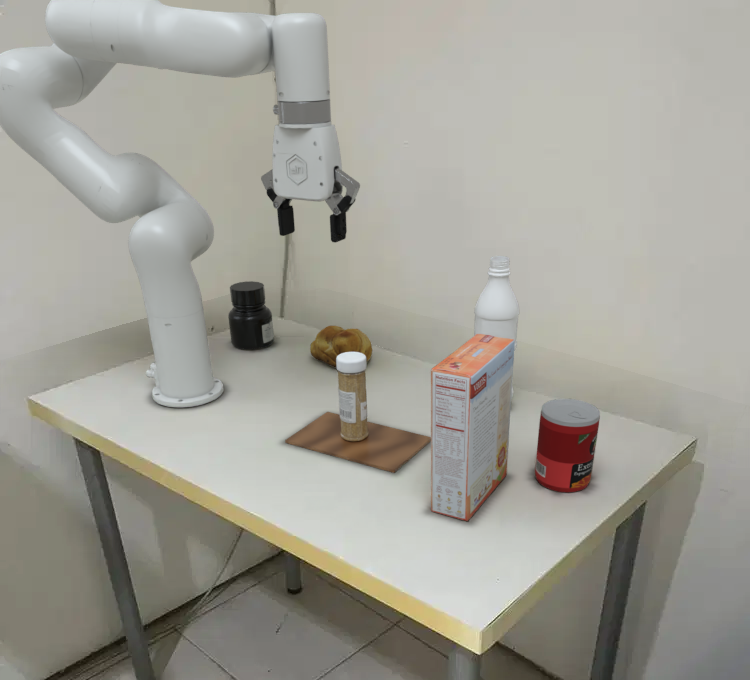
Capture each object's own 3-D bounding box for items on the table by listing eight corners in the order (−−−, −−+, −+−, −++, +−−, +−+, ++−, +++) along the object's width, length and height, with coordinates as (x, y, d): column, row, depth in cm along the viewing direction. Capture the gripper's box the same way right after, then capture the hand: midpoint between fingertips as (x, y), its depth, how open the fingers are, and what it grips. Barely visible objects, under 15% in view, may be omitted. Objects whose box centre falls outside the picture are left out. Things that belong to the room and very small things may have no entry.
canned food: (579, 499, 106) (589, 427, 100) (525, 484, 110) (532, 414, 104) (597, 475, 112) (608, 405, 106) (545, 461, 115) (552, 393, 109)
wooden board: (285, 442, 122) (284, 440, 122) (327, 414, 131) (327, 411, 131) (394, 473, 113) (394, 470, 113) (432, 440, 122) (432, 437, 122)
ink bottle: (278, 348, 158) (272, 290, 152) (234, 353, 156) (227, 295, 150) (270, 333, 166) (264, 277, 160) (229, 338, 164) (222, 281, 158)
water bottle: (464, 411, 131) (471, 262, 117) (476, 395, 136) (483, 251, 123) (506, 417, 128) (517, 266, 115) (516, 400, 134) (528, 254, 121)
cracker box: (469, 467, 114) (476, 331, 103) (507, 476, 112) (518, 338, 101) (426, 512, 104) (428, 366, 93) (467, 523, 102) (474, 375, 91)
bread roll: (300, 362, 151) (297, 322, 147) (333, 347, 158) (331, 309, 154) (349, 377, 144) (348, 336, 140) (382, 361, 151) (381, 321, 147)
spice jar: (374, 437, 122) (372, 357, 115) (349, 445, 120) (346, 363, 113) (358, 427, 125) (355, 348, 118) (334, 434, 123) (330, 354, 116)
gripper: (241, 115, 112) (253, 236, 121) (340, 119, 104) (346, 248, 113) (272, 110, 117) (282, 226, 126) (369, 113, 109) (372, 237, 118)
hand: (312, 237), depth 120 cm, fingers open, 9 cm apart
